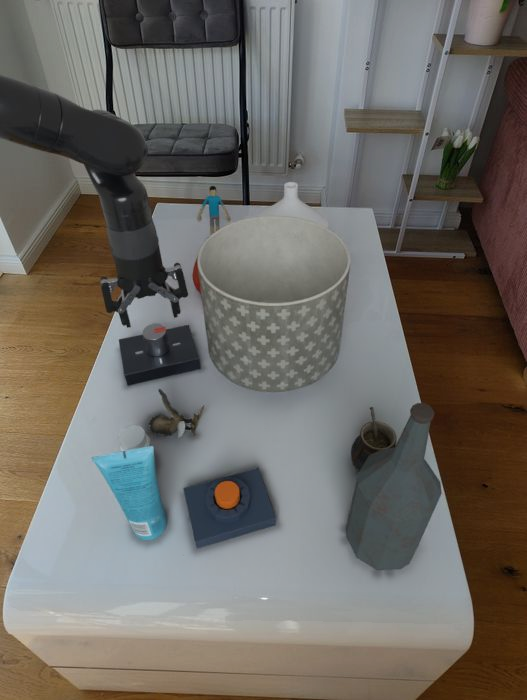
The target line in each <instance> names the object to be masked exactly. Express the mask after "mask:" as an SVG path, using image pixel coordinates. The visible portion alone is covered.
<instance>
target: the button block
mask: <svg viewBox="0 0 527 700" xmlns="http://www.w3.org/2000/svg"><path fill="white" fill-rule="evenodd" d="M224 481H231V482H234V483H235V484H236V485H237V486H238V487H239V492H240V500H239V502H238V504H237V505H236V506H235V507H233V508H230V509H224V508H221V507H220V506H219V505H218V504H217V503H216V499H215V489H216V487H217V486H218V485H219V484H220V483H221V482H224ZM182 489H183V493H184V498H185V502H186V507H187V512H188V515H189V520H190V525H191V529H192V534H193V540H194V544H195V548H196V549H201V548H204V547H207V546H211V545H214V544H217V543H221V542H224V541H227V540H231V539H233V538H237V537H240V536H245V535H248V534H251V533H254V532H258V531H262V530H264V529H269V528H271V527H274V526H276V524H277V521H276V519H277V518H276V515H275V512H274V509H273V506H272V503H271V500H270V498H269V494H268V492H267V489H266V486H265V483H264V480H263V477H262V475H261V471H260V468H259V467H255V468H251V469H248V470H244V471H240V472H236V473H232V474H229V475H225V476H222V477H217V478H215V479H210V480H207V481H204V482H200V483H196V484H191V485H189V486H186V487H183V488H182Z"/></svg>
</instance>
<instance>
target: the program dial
mask: <svg viewBox="0 0 527 700" xmlns="http://www.w3.org/2000/svg"><path fill="white" fill-rule="evenodd" d="M166 329H167V328H166V326H164V325H163V324H160V323H151V324H148V325H147V326H145V327H144V328H143V329H142V331H141V332H142V333H141V335H143V339H144V343H145V347H146V351H147V353H148V354H149V355H151V356H162V355H164V354H166V353H167V352H168V350H169V342H168V337H167V332H166Z"/></svg>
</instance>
